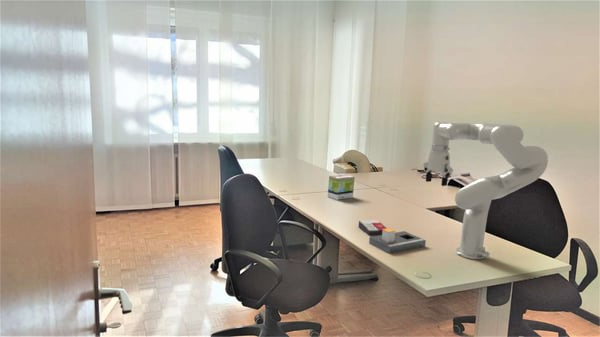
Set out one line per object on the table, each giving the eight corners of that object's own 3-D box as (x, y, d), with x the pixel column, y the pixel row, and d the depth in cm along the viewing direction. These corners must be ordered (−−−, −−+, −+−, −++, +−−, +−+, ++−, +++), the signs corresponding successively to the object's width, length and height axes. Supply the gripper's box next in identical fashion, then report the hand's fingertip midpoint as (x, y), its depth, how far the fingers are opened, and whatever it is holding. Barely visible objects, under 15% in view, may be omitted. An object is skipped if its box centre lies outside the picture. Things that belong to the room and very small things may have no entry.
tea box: (337, 200, 276) (338, 178, 274) (327, 197, 284) (328, 175, 281) (353, 197, 286) (355, 176, 283) (343, 194, 293) (344, 173, 291)
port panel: (425, 247, 197) (425, 240, 196) (389, 254, 186) (390, 246, 185) (403, 237, 209) (404, 230, 208) (369, 244, 198) (369, 236, 197)
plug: (393, 247, 194) (395, 230, 192) (387, 248, 192) (388, 231, 190) (387, 244, 197) (389, 228, 196) (381, 245, 195) (382, 229, 194)
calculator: (369, 230, 208) (358, 219, 222) (368, 238, 209) (358, 227, 223) (389, 229, 210) (378, 219, 225) (388, 237, 211) (377, 226, 226)
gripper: (460, 150, 195) (456, 186, 198) (431, 145, 209) (428, 179, 213) (448, 151, 191) (444, 188, 194) (420, 146, 206) (417, 180, 209)
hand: (436, 183), depth 203 cm, fingers open, 9 cm apart
